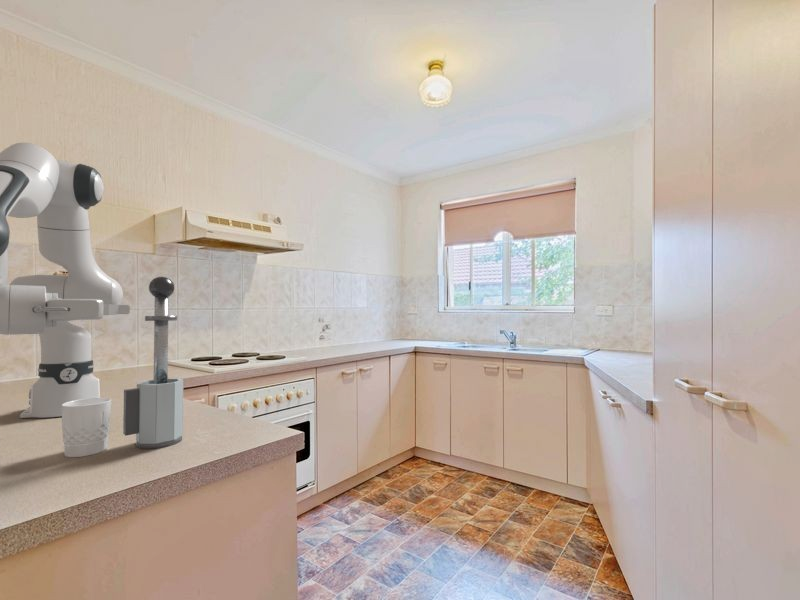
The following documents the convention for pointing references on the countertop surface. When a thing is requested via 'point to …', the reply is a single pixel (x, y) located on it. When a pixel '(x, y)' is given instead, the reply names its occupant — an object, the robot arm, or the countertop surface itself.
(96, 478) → the countertop surface
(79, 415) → the white cup
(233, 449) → the countertop surface
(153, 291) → the plunger
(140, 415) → the grey faceted holder
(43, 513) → the countertop surface
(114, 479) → the countertop surface
